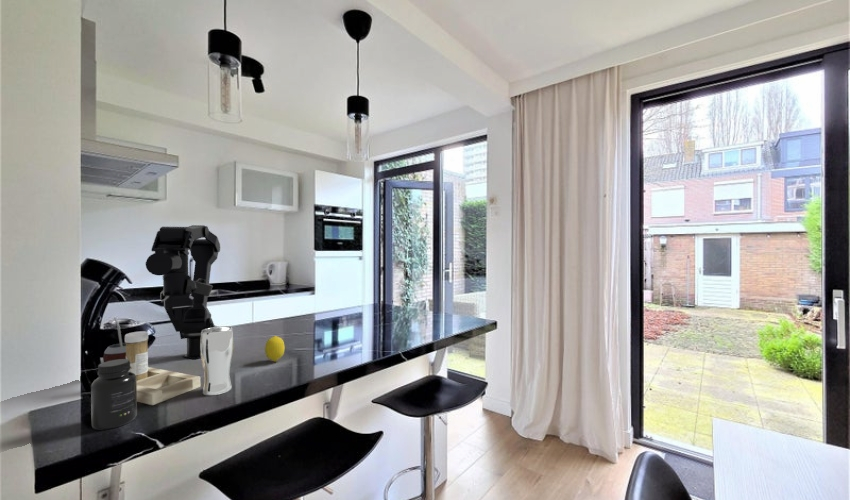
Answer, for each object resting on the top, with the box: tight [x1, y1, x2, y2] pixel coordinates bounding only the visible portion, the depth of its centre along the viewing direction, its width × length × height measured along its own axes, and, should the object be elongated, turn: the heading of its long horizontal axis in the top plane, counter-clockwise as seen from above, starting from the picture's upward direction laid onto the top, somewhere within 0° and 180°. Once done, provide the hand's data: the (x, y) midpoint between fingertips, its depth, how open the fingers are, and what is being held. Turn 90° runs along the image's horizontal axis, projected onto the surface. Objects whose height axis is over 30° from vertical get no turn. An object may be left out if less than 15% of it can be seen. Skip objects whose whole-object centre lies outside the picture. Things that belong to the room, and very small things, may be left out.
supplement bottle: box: [90, 359, 138, 431], centre depth 69 cm, size 7×7×12 cm
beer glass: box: [200, 325, 234, 397], centre depth 85 cm, size 7×7×15 cm
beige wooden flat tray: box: [137, 366, 201, 406], centre depth 86 cm, size 21×11×3 cm, turn 69°
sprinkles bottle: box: [124, 330, 149, 381], centre depth 88 cm, size 5×5×14 cm
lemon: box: [264, 335, 286, 363], centre depth 106 cm, size 6×6×8 cm
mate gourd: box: [102, 317, 126, 363], centre depth 96 cm, size 8×8×15 cm
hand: (176, 328), depth 96 cm, fingers open, 9 cm apart
